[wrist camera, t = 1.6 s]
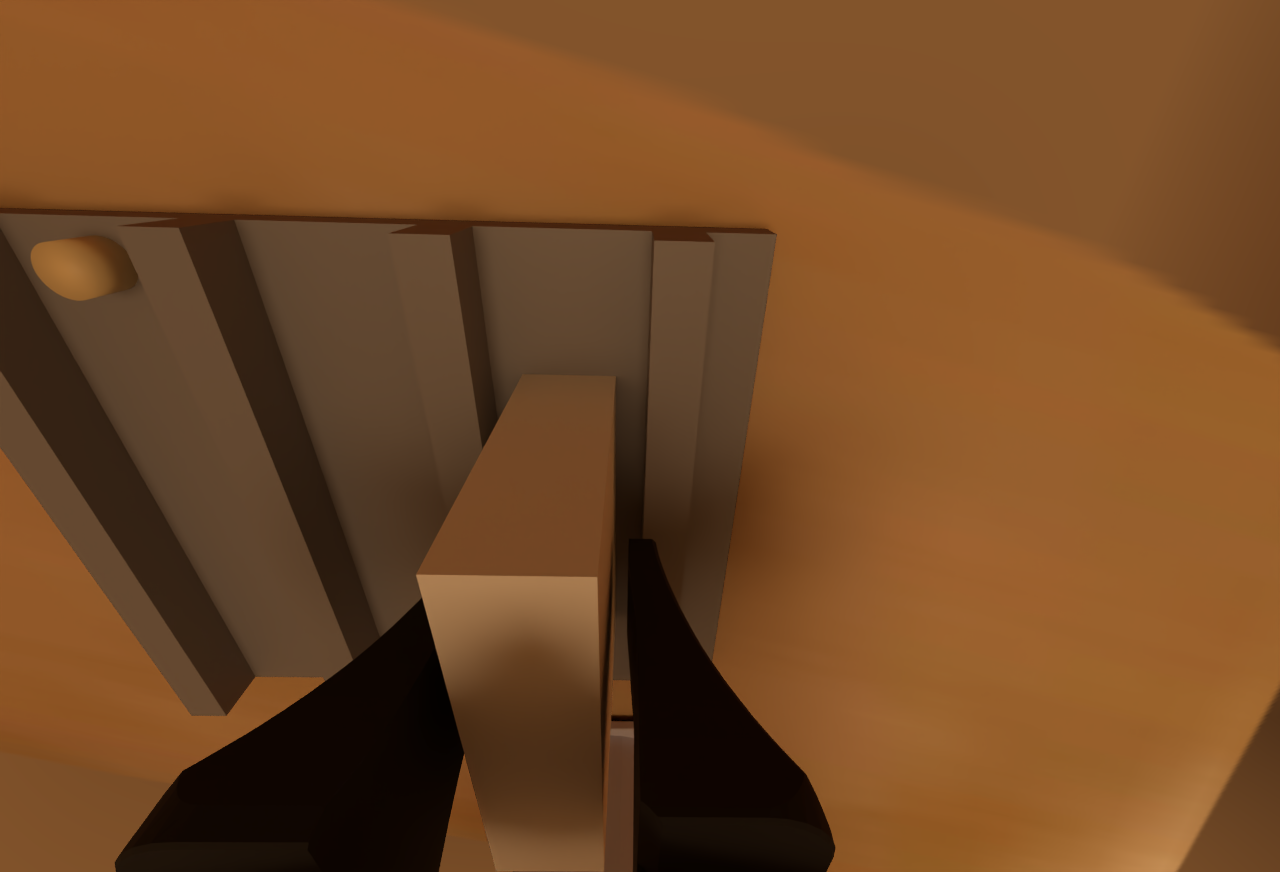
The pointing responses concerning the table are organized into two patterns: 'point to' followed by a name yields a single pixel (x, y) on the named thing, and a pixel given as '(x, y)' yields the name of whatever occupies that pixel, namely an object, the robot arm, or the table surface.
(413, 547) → the ridged panel
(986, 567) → the table surface
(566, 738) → the picture frame
